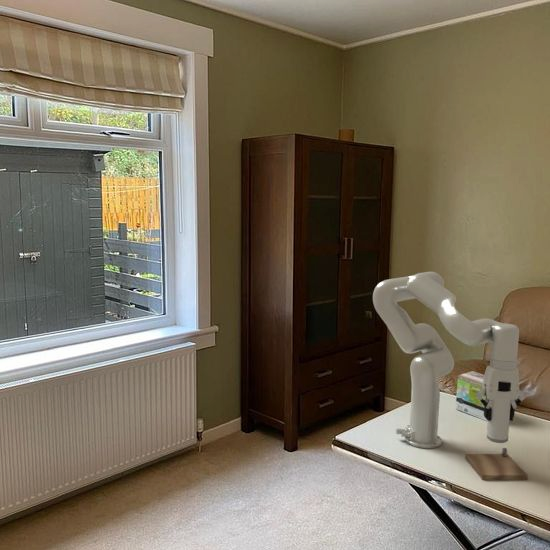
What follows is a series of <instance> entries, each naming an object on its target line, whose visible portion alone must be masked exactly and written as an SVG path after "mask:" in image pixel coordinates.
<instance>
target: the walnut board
mask: <svg viewBox="0 0 550 550" xmlns="http://www.w3.org/2000/svg"><path fill="white" fill-rule="evenodd" d="M464 459H465V460H466V461H467V462H468V464H469V466H471V468H472V469H473V471H474V472H475V473H476V474H477V475H478V476H479V478H480V479H481V480H482V481H490V480H491V481H501V480H502V481H503V480H504V481H506V480H508V481H509V480H510V481H512V480H514V481H517V480H518V481H519V480H522V481H526V480H528V477H529V476H528V474H527V472H526V471H524V469H523V468H522V467H521V466H520V465H519V464H518V463H516V461H515V460H514V459H513V458H512V457H511V456H510V455H509V454H508V448H507V447H503V448H502V451H501V453H465V455H464Z"/></svg>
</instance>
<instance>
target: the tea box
mask: <svg viewBox="0 0 550 550" xmlns="http://www.w3.org/2000/svg"><path fill="white" fill-rule="evenodd" d="M484 375H485V374H482V373H479V372H477V371H473V370H471V371H468V372H466V373H465V372H464V373H462V374H459V375H457V384H456V395H455V397H456V399H455V401H456V402H455V410H457V411H460V412H463V413H466V414H468V415H471V416H473V417H475V418H478V419H480V420H483V421H485V422H486V423H488V420H487V419H486V418H485V417H484V405H483V404H482V403H481V402H480V401H479V400H478V399H477V398H476V396H475V394H476V393H477V392H479V391H480V390H481V389H482V385H483V379H484ZM482 398H483V399H484V400H485V398H486V396H484V395H483V396H482Z"/></svg>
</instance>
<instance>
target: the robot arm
mask: <svg viewBox="0 0 550 550" xmlns="http://www.w3.org/2000/svg"><path fill="white" fill-rule="evenodd" d="M414 299H415V300H418V301H419V302H420V303H422V304H423V305H424V306H426V307H427V308H428V309H430V310H431V311H432V312H434V313H435V314H436V315H437V316H438V317H439V320H440V323H441V324H442V326H443V327H444V329H445V330H446V331H447V332H449V334H450V335H452V336H453V337H454V338H456V339H457V340H458V341H460V342H461V343H462V344H465V345H467V346H469V347H477V346H480V345H483V344H487V343H491V346H490V356H489V357H490V360H489V365H487V366H486V369H485V372H484V374H483V375H484V379H483V385H482V389H481V390H480V391H479V392H477V393H476V394H475V396H476V398H477V399H478V400H479V401H480V402H481V403H482V404H483V405H484V417H485V418H486V419H487V420H488V421H491V412H492V409H491V408H490V407H491V405H492V403H493V400H495V399H496V395H497V393H498V392H497V391H498V389H499V388H498V382H504V383H511V388H510V389H511V392H510V393H511V407H510V420H509V422H513V421H514V418H515V412H516V411H515V410H516V409H517V407H518V406H519V405H520V404H521V403H522V402H523V401H524V400H525V399H526V394H525V393H523V391H521V389H520V376H519V370H518V368H517V367H518V366H519V365H520V366H521V363H522V362H521V360H519V359H518V352H519V351H518V350H519V349H518V348H519V337H520V329H519V327H518V326H517V325H515V324H512V323H504V322H499V321H497V320H494V319H492V318H487V317H486V318H483V317H482V318H480V319H475V320H470V319H468V318H467V317H466V316H464V315H463V313H461V312H460V311H459V310H458V309H457V308H456V302H457V297H456V295H455V294H454V293H452V292H451V291H450V290H448V289H447V288H445V281H444V278H443V277H442V276H441V275H440V273H438V272H435V271H425V272H418V273H416V274H413V275H409V276H402V277H396V278H390V279H384V280H382V281H380V282H378V283H377V285H376V286H375V288H374V290H373V293H372V303H373V306H374V309H375V311H376V313H377V314H378V315H379V317H380V318H381V320H382V321H383V323H384V324H385V325H386V327H387V329H388V330H389V332H390V334H391V336H393V338H394V340H395V342H396V343H397V344H398V346H399V348H400V349H401V351H403V353H405V354H415V353H418V352H421V353H420V354H418V355H416V356H415V357H414V358H413V359H412V360H411V363H410V366H409V370H410V373H409V374H410V381H411V392H410V393H411V395H410V396H411V399H410V413H409V414H410V416H409V424H407V426H406V427H405V428H395V434H396V435H401V436H400V437H404V440H405V442H406V443H408V444H409V445H411V446H413V447H417V448H421V449H434V448H438V447H440V446H441V445H442V443H443V441H442V438H441V436H440V435H438V434H439V433H438V431H439V429H438V428H439V415H440V401H441V400H440V399H441V398H440V397H441V394H440V393H441V391H440V390H441V389H440V387H439V382H438V379H440V378H442V377H444V376H446V375H447V376H448V375H449V374H450V373H451V372H452V371H453V369H454V368H455V367H454V366H455V360H454V357H453V355H452V353H451V351H450V349H449V348H448V347H447V345H446V344H445V342H444V341H443V338H441V336H440V334H439V333H438V331H437V330H436V329H435V328H434V327H433V326H432V325H429V324H427V323H425V322H421V323H417V324H416V323H414V322H413V319H412V318H411V317H410V315H409V314H408V313H407V311H406V310H405V309H404V308H403V307H401V306H400V304H398V302H403V301H404V302H405V301H410V300H414ZM483 395H484V396H486V398H485V400H484V399H483V398H482V396H483Z"/></svg>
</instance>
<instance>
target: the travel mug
mask: <svg viewBox="0 0 550 550" xmlns="http://www.w3.org/2000/svg"><path fill="white" fill-rule="evenodd" d="M498 388H499V389H498V391H497V392H498V393H497V395H496V399H495V400H493V403H492V405H491V407H490V408H491V409H492V412H491V421H488V422H487V425H486V426H487V427H486V438H487V440H489V441H490V442H492V443H497V444H505V443H507V442H508V441H509V431H510V407H511V393H510V392H511V389H510V388H511V383H504V382H498Z"/></svg>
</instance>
